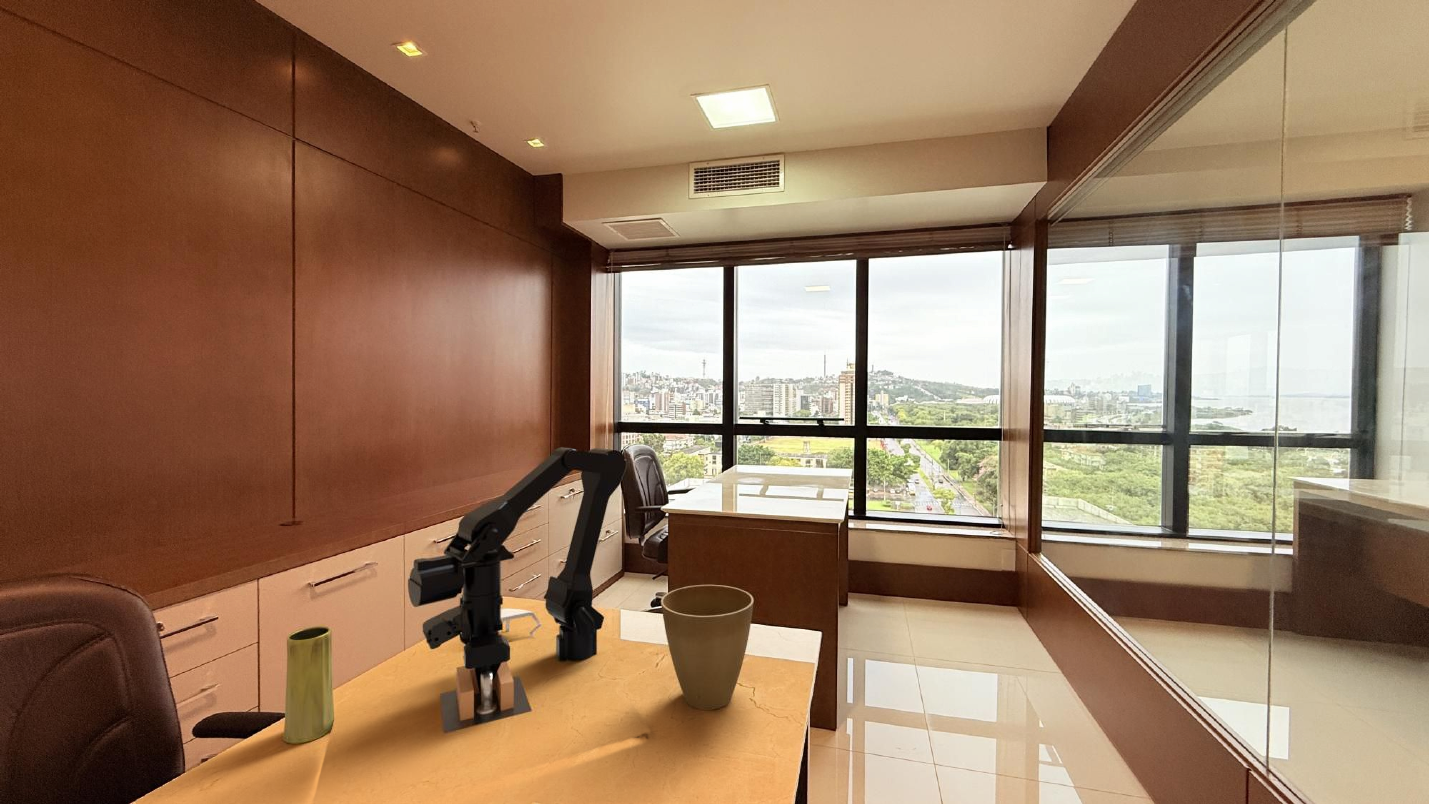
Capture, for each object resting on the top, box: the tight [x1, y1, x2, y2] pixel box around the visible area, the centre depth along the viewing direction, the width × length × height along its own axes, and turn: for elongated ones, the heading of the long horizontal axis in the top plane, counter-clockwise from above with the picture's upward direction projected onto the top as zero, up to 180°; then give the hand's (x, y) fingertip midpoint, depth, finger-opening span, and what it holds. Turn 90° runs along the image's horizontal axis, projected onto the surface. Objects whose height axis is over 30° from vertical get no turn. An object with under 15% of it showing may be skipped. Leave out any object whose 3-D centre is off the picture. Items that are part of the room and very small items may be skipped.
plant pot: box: [660, 584, 754, 711], centre depth 89 cm, size 15×15×16 cm
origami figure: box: [498, 608, 542, 638], centre depth 112 cm, size 12×8×5 cm
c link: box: [456, 661, 514, 721], centre depth 87 cm, size 7×9×4 cm
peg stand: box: [440, 671, 533, 734], centre depth 86 cm, size 12×12×6 cm
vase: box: [282, 625, 335, 745], centre depth 80 cm, size 6×6×14 cm
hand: (481, 686), depth 90 cm, fingers open, 5 cm apart
